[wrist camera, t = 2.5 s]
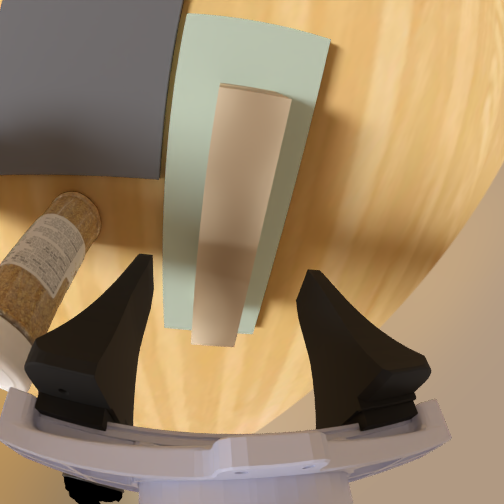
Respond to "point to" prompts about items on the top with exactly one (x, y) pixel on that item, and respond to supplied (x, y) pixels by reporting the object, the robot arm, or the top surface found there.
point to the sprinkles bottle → (41, 279)
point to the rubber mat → (85, 85)
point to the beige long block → (234, 206)
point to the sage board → (199, 137)
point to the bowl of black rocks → (90, 490)
